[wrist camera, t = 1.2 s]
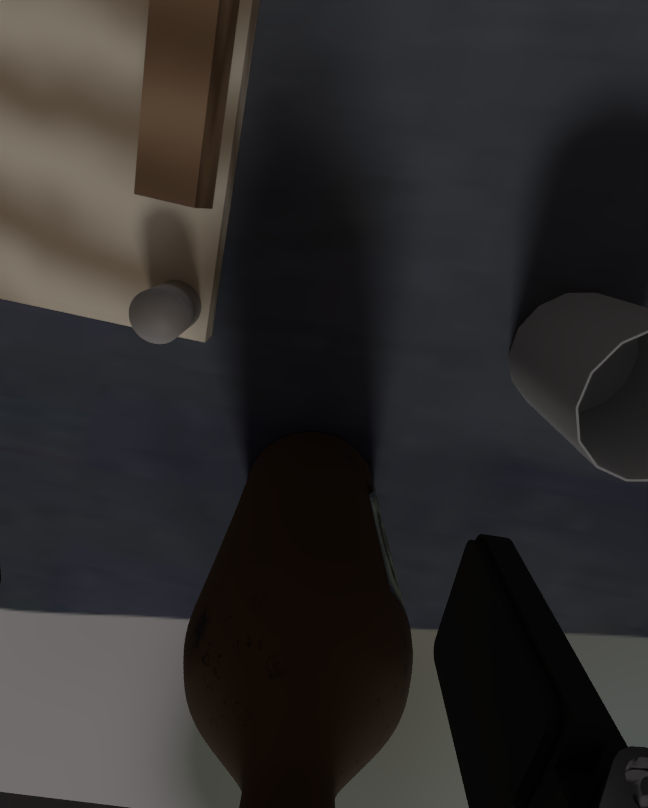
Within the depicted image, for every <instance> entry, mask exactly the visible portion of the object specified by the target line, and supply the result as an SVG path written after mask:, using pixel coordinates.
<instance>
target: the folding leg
mask: <svg viewBox="0 0 648 808" xmlns="http://www.w3.org/2000/svg"><path fill="white" fill-rule="evenodd" d="M239 3H240V0H149V9H148V22H147V35H146V47H145V60H144V73H143V85H142V98H141V111H140V123H139V136H138V148H137V161H136V174H135V186H134V194H136V195H140V196H145V197H149V198H153V199H158V200H162V201H166V202H171V203H175V204H179V205H184V206H188V207H192V208H204V209H212V208H213V201H214V193H215V185H216V178H217V170H218V162H219V155H220V147H221V140H222V132H223V124H224V117H225V109H226V102H227V94H228V86H229V79H230V71H231V64H232V56H233V48H234V41H235V33H236V25H237V18H238V10H239Z"/></svg>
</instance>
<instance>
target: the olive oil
mask: <svg viewBox="0 0 648 808" xmlns="http://www.w3.org/2000/svg"><path fill="white" fill-rule="evenodd" d="M183 663H184V687H185V694H186V699H187V703H188V707H189V710H190V713H191V716H192V718H193V720H194V722H195V725H196V727H197V728H198V730H199V732H200V734H201V735H202V737H203V738H204V740H205V741H206V743H207V744H208V745H209V747H210V748H211V750H212V751H213V752H214V754H215V755H216V756H217V758H218V759H219V760H220V761H221V762H222V764H223V765H224V767H225V768H226V769H227V771H228V772H229V773H230V775H231V776H232V777H233V778H234V780H235V781H236V783H237V784H238V786H239V787H240V789H241V791H242V795H241V801H240V806H239V808H335V797H336V795H337V794H338V792H339V791H340V790H341V789H342V788H343V787H344V786H345V785H346V784H347V783H348V782H349V781H350V780H351V779H352V778H353V777H354V776H355V775H356V774H357V773H358V772H359V771H360V770H361V769H362V768H363V767H364V766H365V765H366V764H367V763H368V762H369V761H370V760H371V759H372V758H373V757H374V756H375V755H376V754H377V753H378V752H379V751H380V750H381V748H382V747H383V746H384V745H385V744H386V742H387V741H388V739H389V738H390V737H391V735H392V734H393V732H394V731H395V729H396V727H397V725H398V723H399V721H400V719H401V716H402V714H403V711H404V708H405V705H406V701H407V697H408V692H409V687H410V681H411V674H412V663H413V649H412V639H411V631H410V626H409V621H408V617H407V614H406V610H405V606H404V602H403V599H402V595H401V591H400V587H399V584H398V580H397V576H396V572H395V569H394V565H393V561H392V557H391V553H390V549H389V545H388V541H387V537H386V533H385V529H384V525H383V521H382V517H381V513H380V508H379V504H378V500H377V496H376V491H375V487H374V482H373V478H372V474H371V471H370V469H369V467H368V465H367V463H366V461H365V460H364V458H363V457H362V456H361V454H360V453H359V452H358V451H357V450H356V449H355V448H354V447H352V446H351V445H350V444H348V443H347V442H345V441H344V440H342V439H340V438H337V437H335V436H332V435H329V434H325V433H319V432H301V433H295V434H291V435H288V436H285V437H283V438H281V439H279V440H277V441H275V442H273V443H272V444H271V445H269V446H268V447H267V448H266V449H265V450H264V451H263V452H262V453H261V454H260V455H259V457H258V458H257V459H256V461H255V463H254V465H253V467H252V469H251V471H250V474H249V477H248V479H247V482H246V485H245V487H244V490H243V493H242V495H241V498H240V501H239V503H238V506H237V508H236V511H235V513H234V516H233V518H232V520H231V523H230V525H229V528H228V530H227V532H226V535H225V537H224V540H223V542H222V545H221V547H220V549H219V552H218V554H217V556H216V559H215V561H214V563H213V566H212V568H211V570H210V573H209V575H208V577H207V580H206V582H205V584H204V587H203V589H202V591H201V594H200V596H199V598H198V600H197V603H196V605H195V608H194V610H193V613H192V615H191V618H190V621H189V624H188V629H187V632H186V638H185V644H184V662H183Z"/></svg>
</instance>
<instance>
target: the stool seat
mask: <svg viewBox="0 0 648 808" xmlns="http://www.w3.org/2000/svg"><path fill="white" fill-rule="evenodd" d="M259 3H260V0H240V3H239V10H238V18H237V25H236V33H235V41H234V48H233V56H232V64H231V71H230V79H229V86H228V94H227V102H226V109H225V117H224V124H223V132H222V140H221V147H220V155H219V162H218V170H217V178H216V185H215V193H214V201H213V208H212V209H204V208H192V207H188V206H184V205H179V204H175V203H171V202H166V201H162V200H158V199H153V198H149V197H145V196H140V195H136V194H134V186H135V174H136V161H137V148H138V136H139V123H140V111H141V98H142V85H143V73H144V60H145V47H146V35H147V22H148V9H149V0H0V299H5V300H9V301H14V302H19V303H23V304H28V305H33V306H37V307H42V308H47V309H51V310H56V311H61V312H65V313H70V314H75V315H79V316H84V317H89V318H93V319H98V320H103V321H107V322H112V323H116V324H121V325H126V326H130V327H132V328H133V329H134V331H135V332H136V333H137V334H138V335H139V336H140V337H141V338H143V339H144V340H146V341H148V342H151V343H155V344H164V343H168V342H171V341H172V340H174V339H175V338H176V337H182V338H186V339H191V340H196V341H200V342H206V341H207V340H208V339H209V338H210V337H211V336H212V331H213V324H214V317H215V310H216V303H217V296H218V289H219V282H220V275H221V269H222V262H223V255H224V248H225V241H226V234H227V227H228V220H229V213H230V206H231V199H232V192H233V185H234V178H235V171H236V164H237V157H238V150H239V143H240V136H241V129H242V122H243V115H244V108H245V101H246V94H247V87H248V80H249V73H250V66H251V59H252V52H253V45H254V38H255V31H256V24H257V17H258V10H259Z"/></svg>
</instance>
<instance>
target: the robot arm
mask: <svg viewBox="0 0 648 808" xmlns="http://www.w3.org/2000/svg"><path fill="white" fill-rule="evenodd" d="M0 582H1V570H0ZM434 661H435V666H436V670H437V674H438V679H439V682H440V687H441V691H442V695H443V699H444V704H445V708H446V712H447V717H448V721H449V725H450V729H451V734H452V738H453V742H454V746H455V750H456V755H457V759H458V763H459V767H460V772H461V776H462V780H463V784H464V788H465V793H466V797H467V801H468V805H469V808H648V748H645V747H632V746H630V747H628V746H627V745H626V743H625V741H624V739H623V738H622V736H621V734H620V732H619V730H618V729H617V727H616V725H615V723H614V721H613V720H612V718H611V716H610V714H609V713H608V711H607V709H606V707H605V706H604V704H603V702H602V700H601V698H600V697H599V695H598V693H597V691H596V689H595V688H594V686H593V684H592V682H591V681H590V679H589V677H588V675H587V673H586V672H585V670H584V668H583V667H582V665H581V663H580V661H579V659H578V658H577V656H576V654H575V652H574V650H573V649H572V647H571V645H570V643H569V642H568V640H567V638H566V636H565V634H564V633H563V631H562V629H561V627H560V626H559V624H558V622H557V621H556V619H555V617H554V615H553V614H552V612H551V610H550V608H549V606H548V605H547V603H546V601H545V599H544V598H543V596H542V594H541V592H540V590H539V589H538V587H537V585H536V583H535V582H534V580H533V578H532V576H531V574H530V573H529V571H528V569H527V567H526V566H525V564H524V562H523V560H522V558H521V557H520V555H519V553H518V551H517V550H516V548H515V546H514V544H513V542H512V541H511V540H510V539H508V538H504V537H498V536H491V535H485V534H480V535H478V537H477V538H476V540H469V541H468V542H467V544H466V547H465V550H464V553H463V556H462V559H461V562H460V565H459V568H458V571H457V574H456V577H455V580H454V583H453V587H452V590H451V593H450V596H449V599H448V602H447V605H446V608H445V611H444V614H443V617H442V620H441V623H440V627H439V630H438V633H437V636H436V639H435V643H434ZM0 808H128V807H119V806H111V805H103V804H95V803H87V802H78V801H69V800H62V799H54V798H44V797H36V796H28V795H21V794H13V793H5V792H0Z"/></svg>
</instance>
